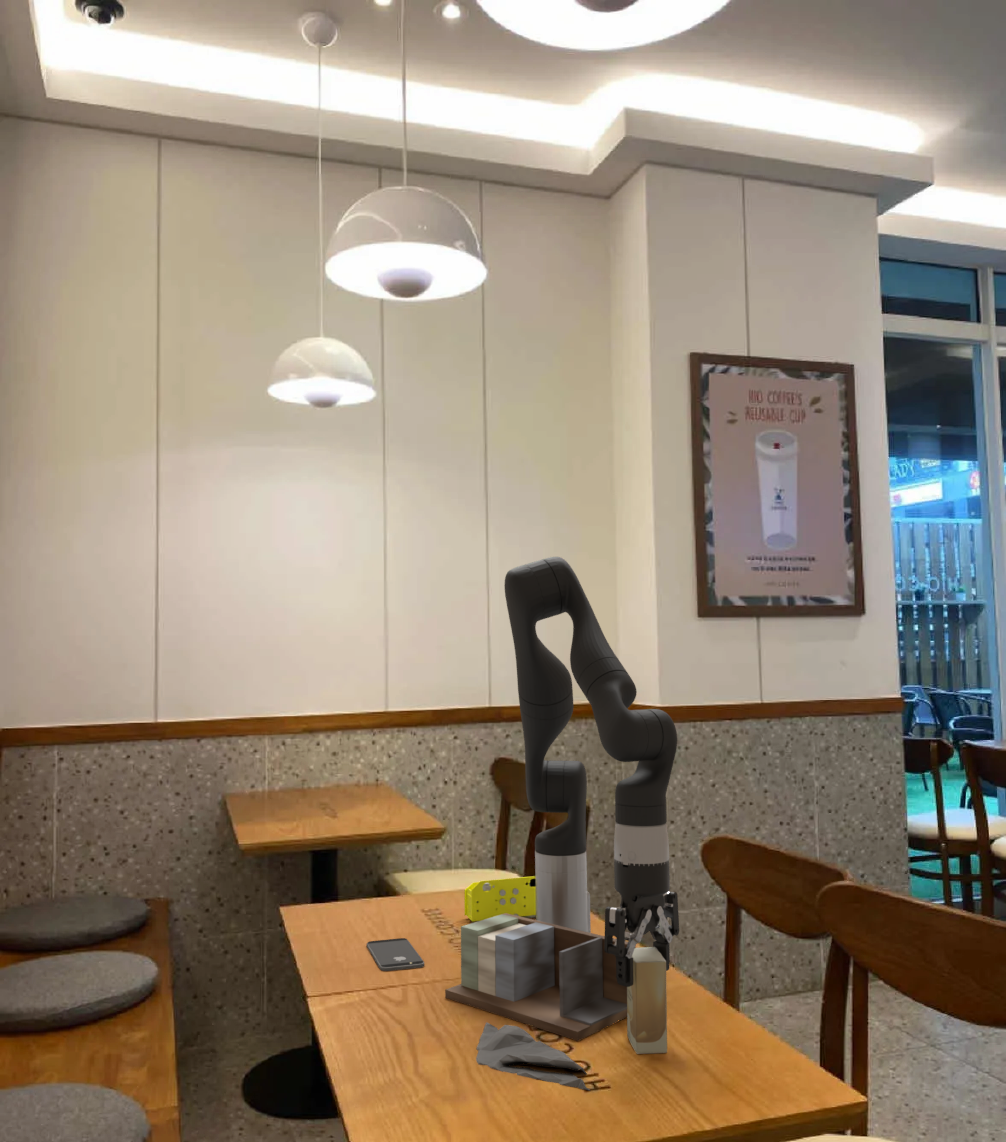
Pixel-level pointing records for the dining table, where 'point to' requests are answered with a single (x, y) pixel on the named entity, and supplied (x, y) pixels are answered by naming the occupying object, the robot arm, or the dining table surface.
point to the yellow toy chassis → (501, 898)
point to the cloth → (524, 1055)
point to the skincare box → (647, 1002)
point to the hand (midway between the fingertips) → (643, 977)
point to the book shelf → (550, 997)
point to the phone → (394, 954)
